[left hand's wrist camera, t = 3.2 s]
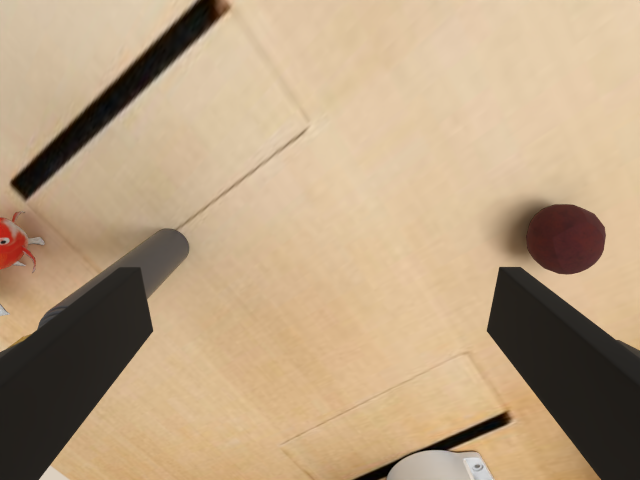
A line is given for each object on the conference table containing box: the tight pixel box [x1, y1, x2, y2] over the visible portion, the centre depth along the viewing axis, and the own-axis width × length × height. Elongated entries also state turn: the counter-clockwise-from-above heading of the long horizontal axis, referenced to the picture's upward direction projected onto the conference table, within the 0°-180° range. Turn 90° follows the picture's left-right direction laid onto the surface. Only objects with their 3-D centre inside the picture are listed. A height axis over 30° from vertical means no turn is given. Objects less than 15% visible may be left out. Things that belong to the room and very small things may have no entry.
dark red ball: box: [526, 204, 606, 274], centre depth 38 cm, size 7×8×7 cm
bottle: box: [37, 229, 189, 330], centre depth 32 cm, size 4×4×22 cm
